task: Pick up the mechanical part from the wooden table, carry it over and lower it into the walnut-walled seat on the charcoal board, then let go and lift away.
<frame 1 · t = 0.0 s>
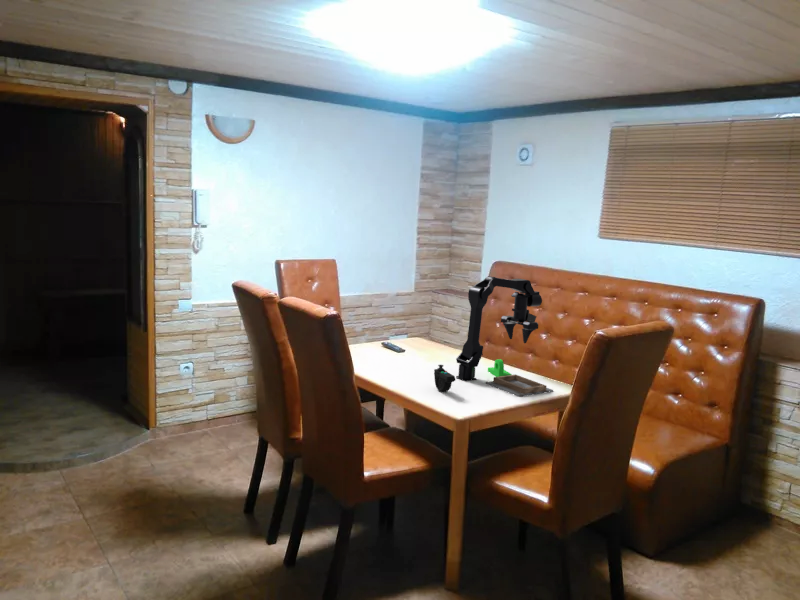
hand: (517, 341, 279), 15 cm above the table, tool pointing down, fingers open, 9 cm apart
controller: (443, 392, 245), on the table
seat: (519, 387, 257), on the table
mechanical part: (499, 375, 276), on the table
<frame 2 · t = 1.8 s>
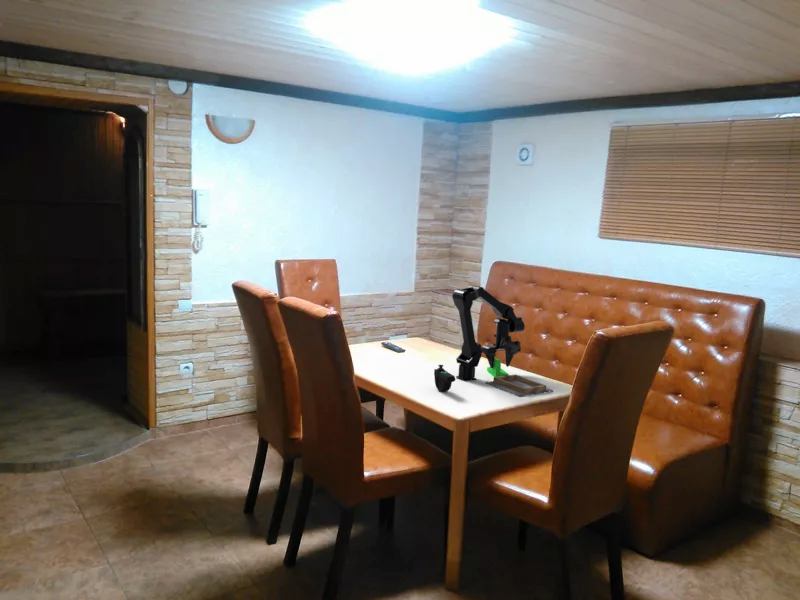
hand: (499, 367, 276), 3 cm above the table, tool pointing down, fingers open, 9 cm apart
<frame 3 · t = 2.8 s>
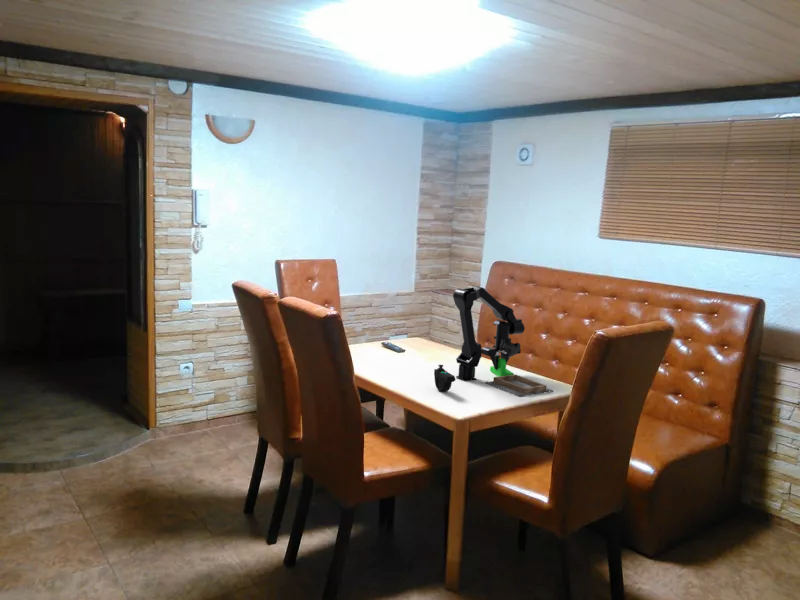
hand: (499, 369, 276), 2 cm above the table, tool pointing down, fingers open, 4 cm apart
mechanical part: (501, 374, 277), on the table, touching gripper
everything else where it was.
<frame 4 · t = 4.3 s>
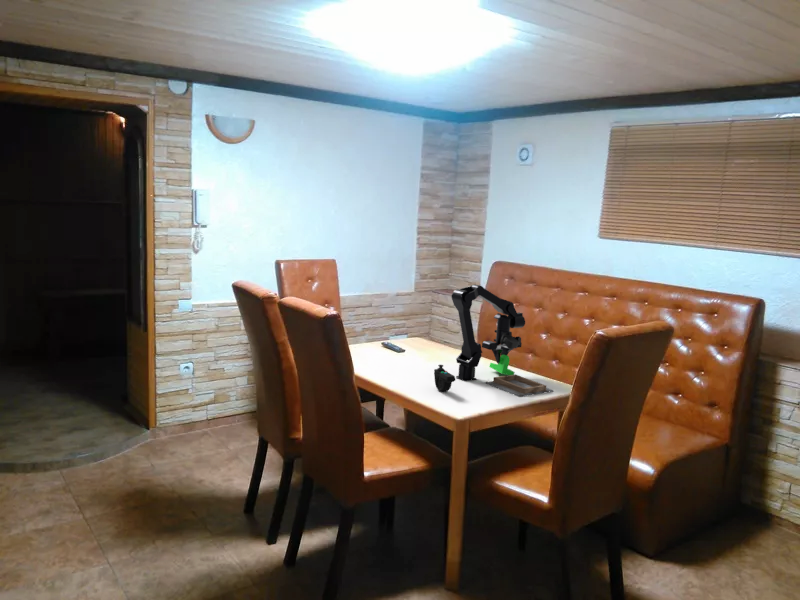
hand: (500, 363, 275), 5 cm above the table, tool pointing down, fingers closed on mechanical part, 2 cm apart
mechanical part: (501, 371, 276), point 1 cm above the table, touching gripper
everything else where it was.
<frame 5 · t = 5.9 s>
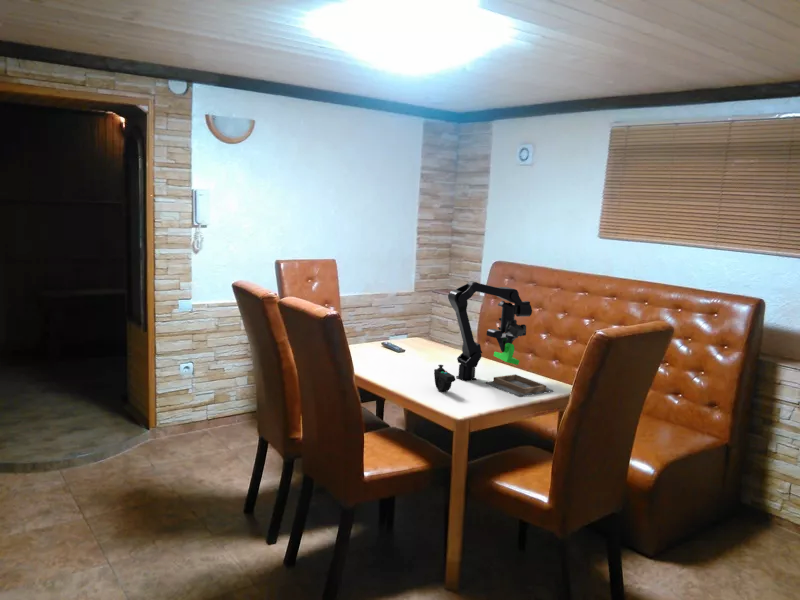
hand: (504, 351, 271), 11 cm above the table, tool pointing down, fingers closed on mechanical part, 2 cm apart
mechanical part: (505, 360, 272), point 7 cm above the table, touching gripper
everything else where it was.
when the fingers open (5 cm above the table, at t = 8.1 s): mechanical part stays where it is, resting on seat.
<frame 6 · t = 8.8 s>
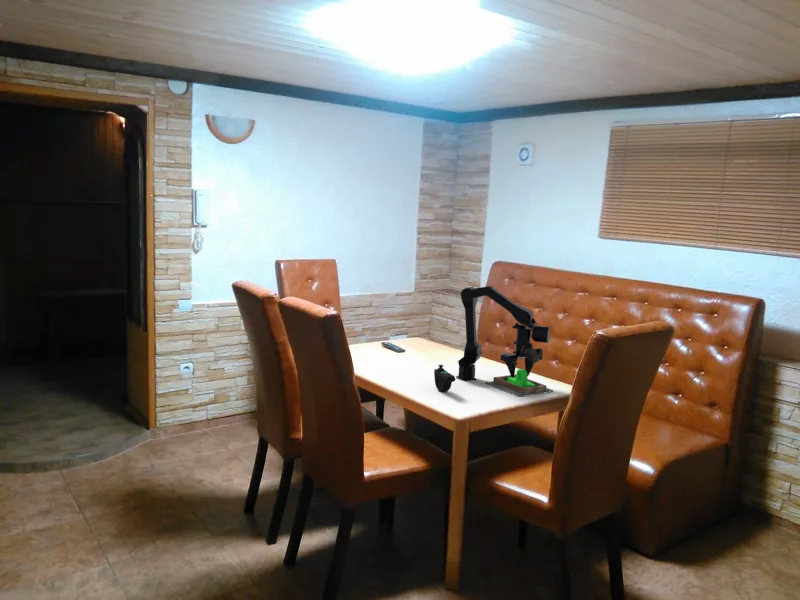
hand: (519, 376, 256), 5 cm above the table, tool pointing down, fingers open, 8 cm apart
mechanical part: (520, 386, 258), resting on seat
everything else where it was.
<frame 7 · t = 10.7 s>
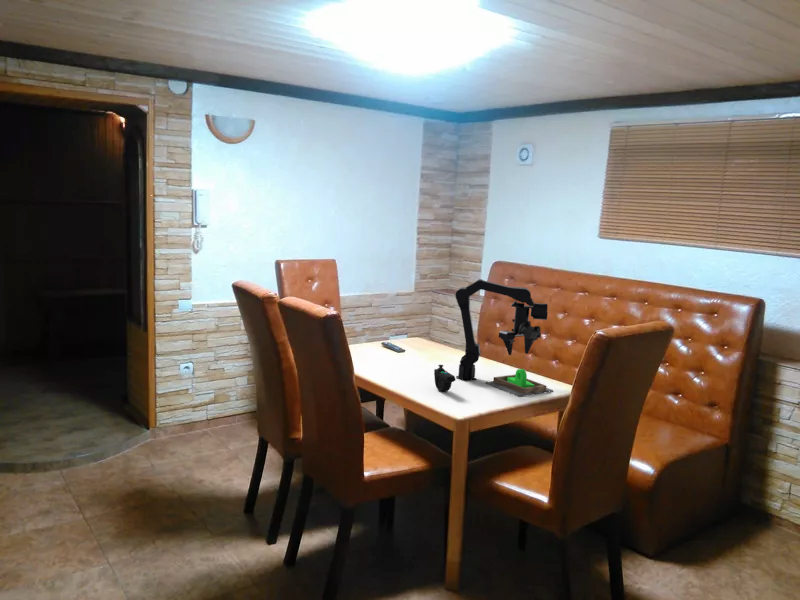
hand: (518, 354, 260), 13 cm above the table, tool pointing down, fingers open, 9 cm apart
nothing on the table moved.
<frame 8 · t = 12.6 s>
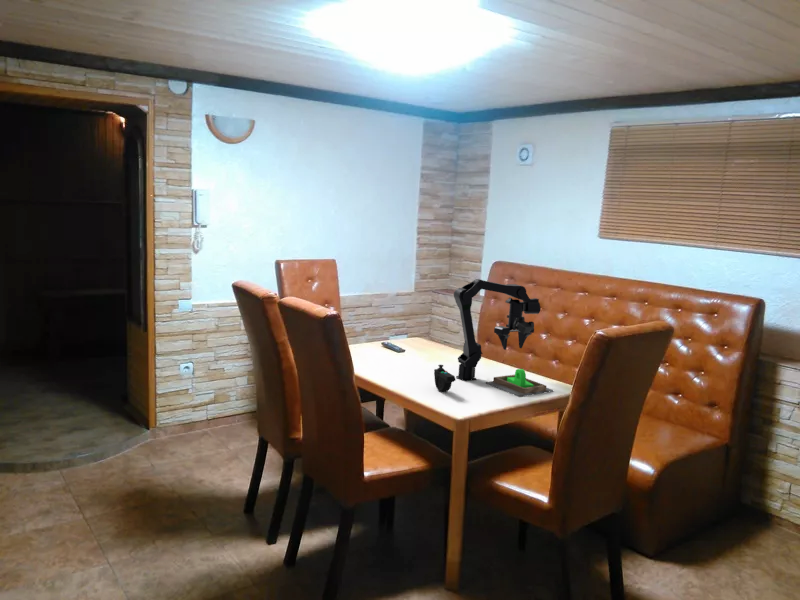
hand: (512, 348, 270), 13 cm above the table, tool pointing down, fingers open, 9 cm apart
nothing on the table moved.
at the end: mechanical part inside the target area on the seat (0.7 cm from its centre), point 0.4 cm above the seat's base; mechanical part tilted 0°; the gripper is holding nothing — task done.
